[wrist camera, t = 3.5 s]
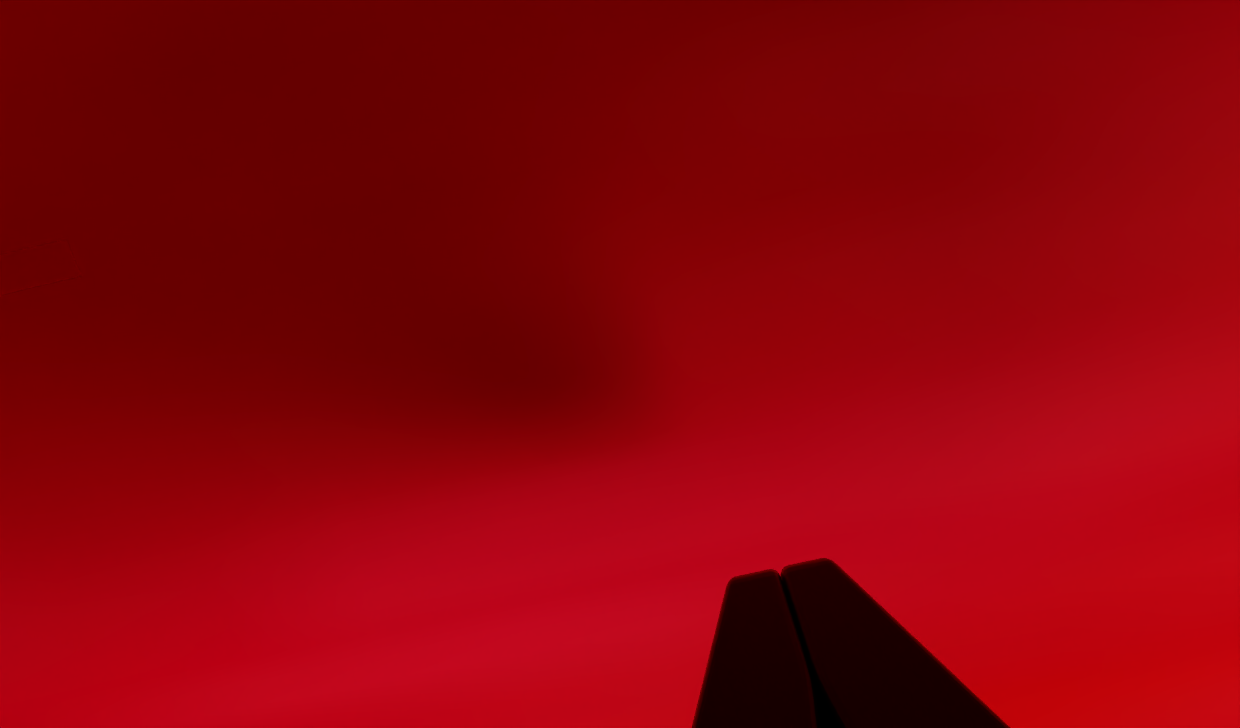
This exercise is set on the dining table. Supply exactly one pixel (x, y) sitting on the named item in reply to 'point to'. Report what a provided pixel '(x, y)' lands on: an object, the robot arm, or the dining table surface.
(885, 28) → the dining table surface
